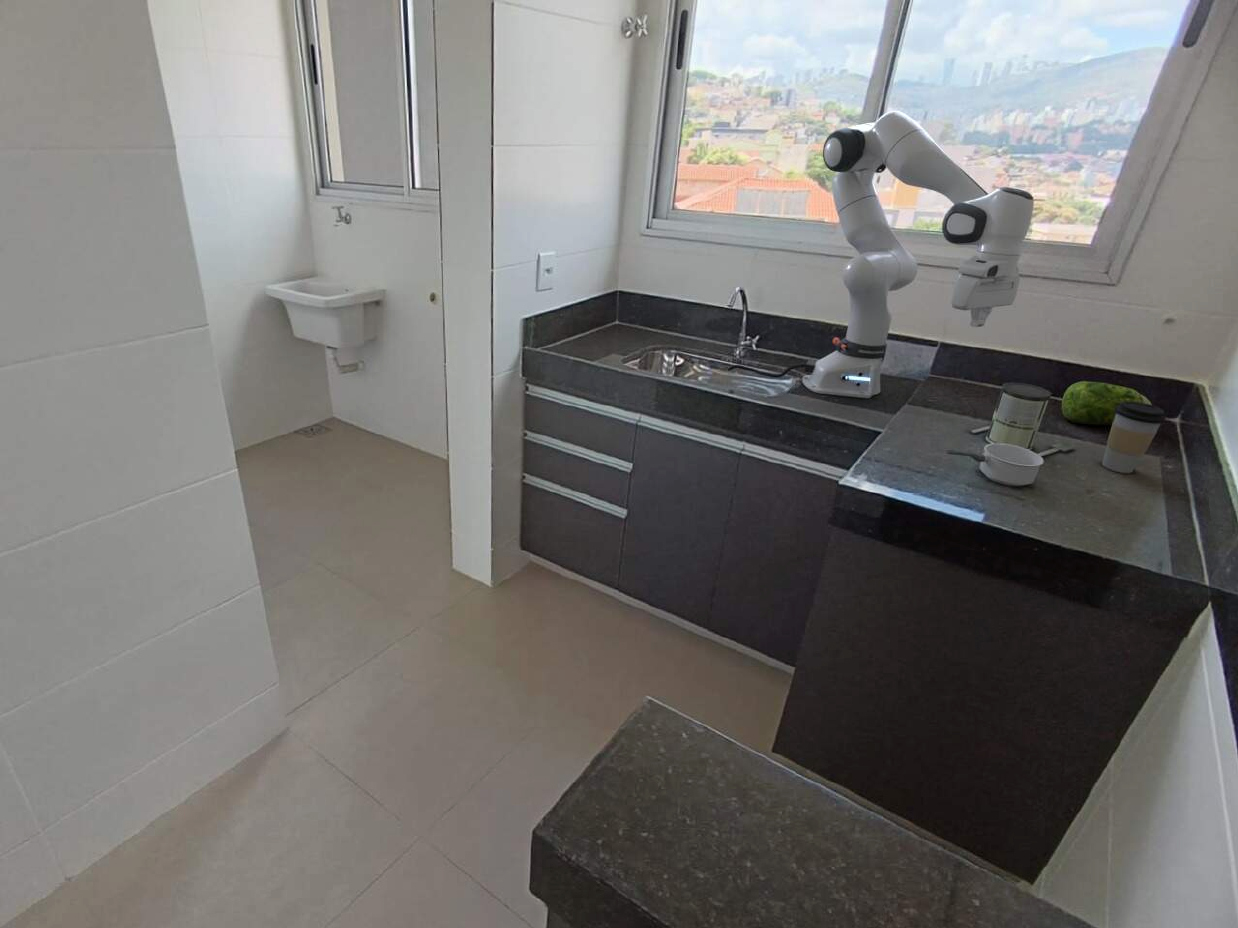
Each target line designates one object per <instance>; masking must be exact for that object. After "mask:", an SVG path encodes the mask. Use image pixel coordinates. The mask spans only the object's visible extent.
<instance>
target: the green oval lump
mask: <svg viewBox="0 0 1238 928" xmlns="http://www.w3.org/2000/svg"><path fill="white" fill-rule="evenodd" d="M1124 401H1135V402H1141V403H1146V404H1150V405H1152V403H1151V401H1150V400H1149V399H1148V398H1147V397H1146V396H1144V395H1142V394H1141V393H1139V392H1138V391H1136V390H1135V389H1132V388H1129V387H1126V386H1121V385H1116V384H1111V383H1107V382H1099V381H1098V382H1097V381H1085V380H1083V381H1077V382H1075V383H1073V384H1071V385H1070V386H1068V387H1067V389H1066V390H1065V392H1064V393H1063V396H1062V400H1061V411H1062V415H1063V416H1064V417H1065V419H1067V420H1069V421H1070V422H1072V423H1074V424H1080V425H1092V426H1093V425H1094V426H1112V423H1113V422H1114V419H1115V416H1116V413H1115V412H1114V409H1115V408H1116V406H1118V405H1120V404H1121V403H1122V402H1124Z"/></svg>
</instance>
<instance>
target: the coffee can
mask: <svg viewBox="0 0 1238 928" xmlns="http://www.w3.org/2000/svg"><path fill="white" fill-rule="evenodd" d="M1051 397H1052V392H1050V390H1048V389H1046V388H1044V387H1041V386H1038V385H1033V384H1029V383H1023V382H1006V383H1003V384H1002V385H1001V390H1000V394H999V397H998V398H997V399H998V400H997V403H996V406H995V409H994V412H993V415H992V418H991V421H990V425H989V426H990V427H989V430H987V434H986V436H985V440H986V441H987V443H988V444H994V443H1000V444H1009V445H1014V446H1018V447H1022V448H1025V449H1028V450H1030V451H1032V449H1033V446H1034V442H1035V440H1036V437H1037V434H1038V432H1039V429H1040V427H1041V423H1042V420H1043V417H1044V414H1045V411H1046V409H1047V406H1048V403H1049V400H1050V398H1051Z"/></svg>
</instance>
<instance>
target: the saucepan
mask: <svg viewBox="0 0 1238 928" xmlns="http://www.w3.org/2000/svg"><path fill="white" fill-rule="evenodd" d="M983 450H984V452H978V453H977V452H974V451H968V450H960V449H959V450H957V449H946V450H945V453H946V454H947V455H954V456H955V455H956V456H961V457H962V456H963V457H970V458H972V459H974V460H975V462H978V463H980V465H979V470H980V471H981V472H982V473H983V474H984V475H985V477H987V478H988V479H990V480H991V481H994V482H996V483H999V484H1003V485H1007V486H1012V487H1023V486H1025V485H1026V486H1027V485H1030V484H1031V485H1032V484H1033V483H1034V482H1035V481H1036V478H1037V475H1038V472H1039V470H1040V469H1039V468H1040V467H1041V465H1043V464H1044V457H1041V456H1039V455H1038V453H1036V452H1034V451H1032V450H1028V449H1025V448H1022V447H1018V446H1014V445H1009V444H1000V443H994V444H990V443H988V444H986V445H984V447H983Z"/></svg>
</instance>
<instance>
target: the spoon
mask: <svg viewBox="0 0 1238 928" xmlns="http://www.w3.org/2000/svg"><path fill="white" fill-rule="evenodd" d="M1049 448H1050V449H1047V450H1045V451H1041V452H1039V453H1037V454H1038V455H1039V456H1041V457H1042V458H1044V457H1047V456H1050V455H1053V454H1055V453H1062V454H1064V453H1068V452H1070V451H1073V450H1074V448H1075V447H1074V446H1072V445H1068V444H1066V443H1063V442H1058V443H1055V444H1052V445H1050V447H1049Z"/></svg>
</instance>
